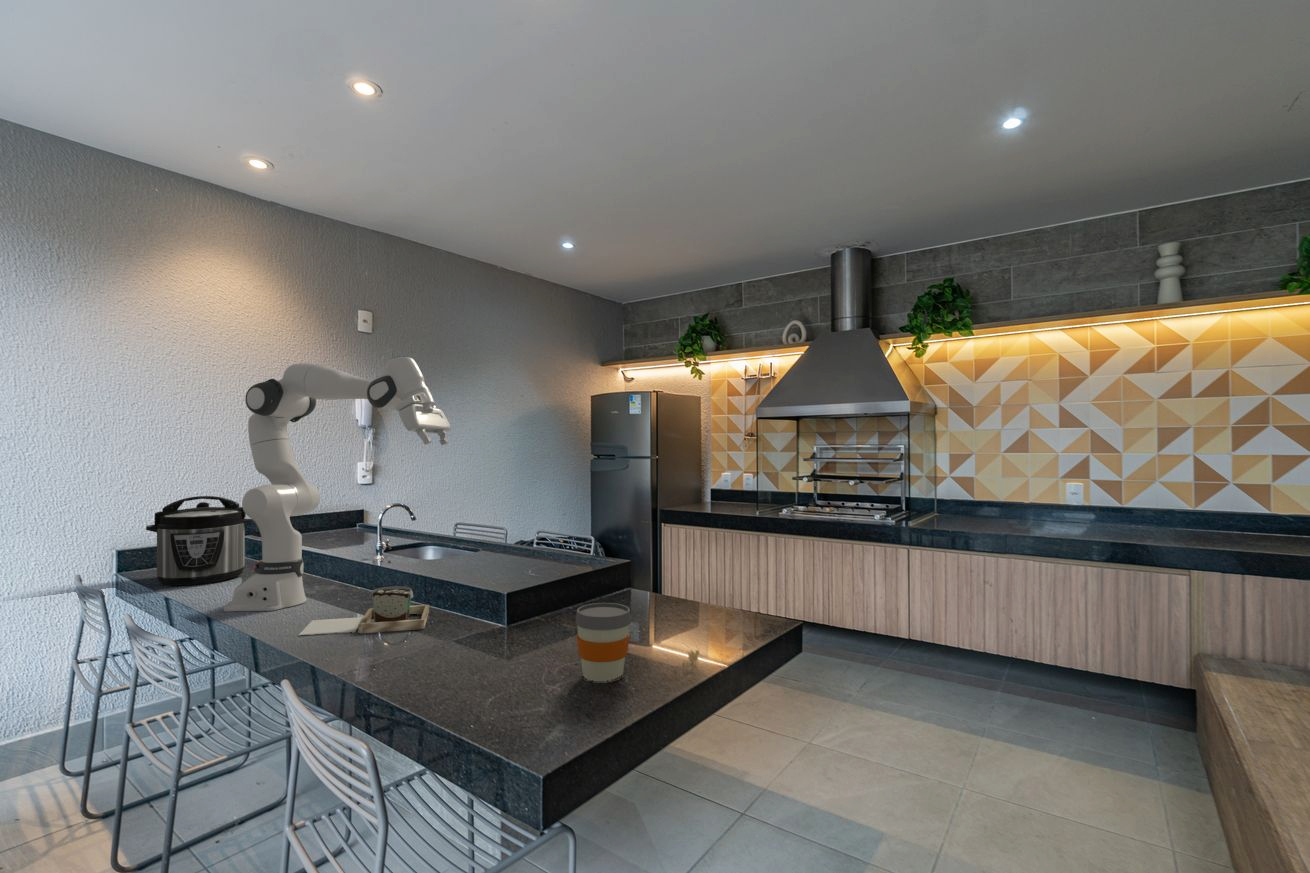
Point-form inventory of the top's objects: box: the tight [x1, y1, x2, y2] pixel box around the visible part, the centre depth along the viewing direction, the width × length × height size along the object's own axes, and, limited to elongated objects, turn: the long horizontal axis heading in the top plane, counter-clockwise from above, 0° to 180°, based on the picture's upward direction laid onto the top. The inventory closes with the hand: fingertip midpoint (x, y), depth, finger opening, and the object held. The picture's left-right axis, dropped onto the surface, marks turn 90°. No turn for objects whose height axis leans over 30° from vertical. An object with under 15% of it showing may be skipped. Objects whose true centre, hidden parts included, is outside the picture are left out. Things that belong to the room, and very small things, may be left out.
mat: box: [298, 616, 364, 637], centre depth 172 cm, size 14×14×1 cm
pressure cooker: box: [145, 495, 255, 586], centre depth 231 cm, size 30×28×32 cm
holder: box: [357, 604, 430, 634], centre depth 177 cm, size 17×17×2 cm
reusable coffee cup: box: [575, 602, 632, 681], centre depth 137 cm, size 13×13×15 cm
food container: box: [370, 585, 414, 622], centre depth 177 cm, size 12×6×10 cm, turn 84°
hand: (436, 444), depth 185 cm, fingers open, 8 cm apart
